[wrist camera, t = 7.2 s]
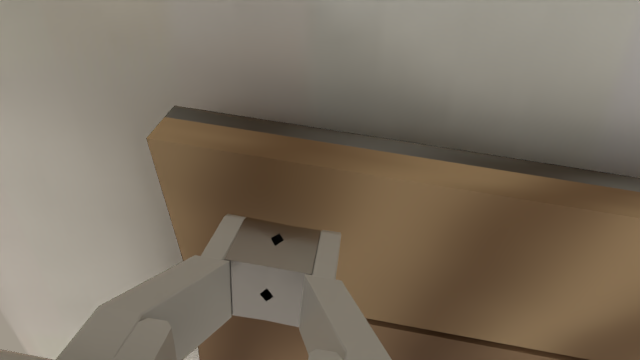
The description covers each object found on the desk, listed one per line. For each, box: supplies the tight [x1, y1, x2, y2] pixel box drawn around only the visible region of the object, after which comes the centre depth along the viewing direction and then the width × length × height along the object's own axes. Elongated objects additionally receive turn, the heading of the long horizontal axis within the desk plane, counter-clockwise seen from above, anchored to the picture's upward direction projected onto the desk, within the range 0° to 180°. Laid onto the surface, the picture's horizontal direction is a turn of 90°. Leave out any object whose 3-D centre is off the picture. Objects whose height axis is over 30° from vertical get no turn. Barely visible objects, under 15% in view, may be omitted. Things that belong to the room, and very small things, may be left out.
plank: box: [146, 106, 640, 360], centre depth 12 cm, size 20×7×2 cm, turn 84°
